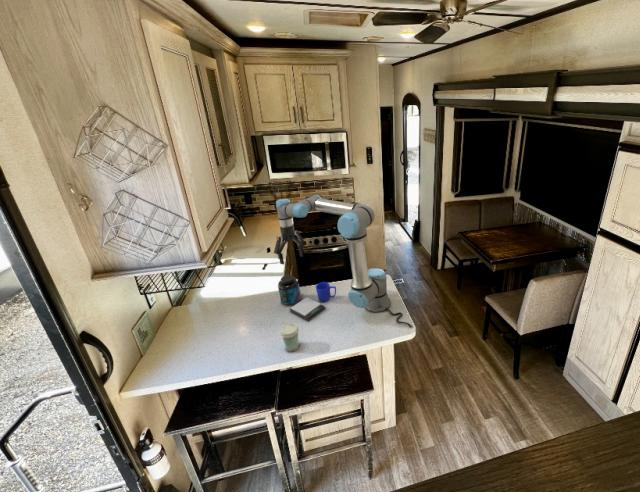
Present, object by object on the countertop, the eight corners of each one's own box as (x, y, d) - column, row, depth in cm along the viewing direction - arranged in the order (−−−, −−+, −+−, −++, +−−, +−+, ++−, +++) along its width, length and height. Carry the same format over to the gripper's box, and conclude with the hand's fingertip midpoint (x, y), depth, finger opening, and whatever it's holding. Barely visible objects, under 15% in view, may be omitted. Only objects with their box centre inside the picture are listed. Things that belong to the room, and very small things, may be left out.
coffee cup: (302, 351, 164) (298, 332, 159) (284, 355, 161) (280, 336, 156) (300, 339, 171) (297, 321, 166) (283, 343, 168) (279, 325, 164)
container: (277, 299, 202) (274, 276, 196) (296, 293, 209) (294, 270, 203) (284, 309, 194) (281, 285, 188) (304, 302, 201) (302, 278, 195)
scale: (324, 309, 194) (324, 304, 192) (307, 321, 184) (307, 317, 183) (307, 300, 201) (306, 296, 200) (290, 312, 192) (289, 307, 190)
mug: (335, 303, 198) (334, 289, 194) (316, 303, 199) (314, 289, 195) (338, 295, 206) (337, 281, 202) (319, 295, 206) (317, 281, 202)
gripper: (300, 219, 201) (305, 252, 206) (263, 230, 182) (269, 266, 187) (308, 221, 197) (312, 254, 202) (271, 232, 177) (277, 268, 183)
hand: (292, 260), depth 195 cm, fingers open, 13 cm apart
